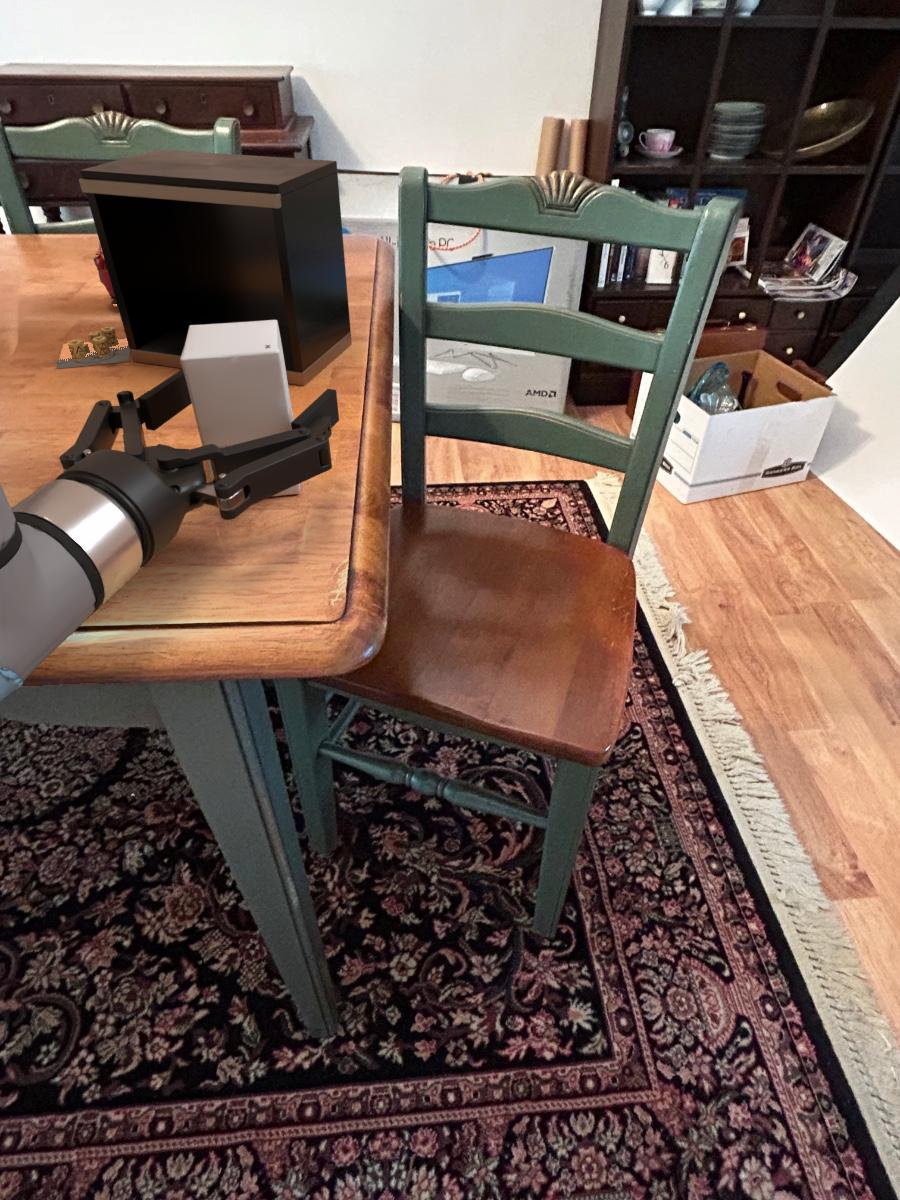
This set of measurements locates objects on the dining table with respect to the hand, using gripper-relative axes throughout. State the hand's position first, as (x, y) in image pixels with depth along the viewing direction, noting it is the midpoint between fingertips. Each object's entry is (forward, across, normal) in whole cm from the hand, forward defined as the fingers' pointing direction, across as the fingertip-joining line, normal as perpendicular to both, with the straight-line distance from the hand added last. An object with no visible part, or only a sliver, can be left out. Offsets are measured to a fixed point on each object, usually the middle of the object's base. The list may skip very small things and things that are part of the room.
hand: (261, 393), depth 63 cm
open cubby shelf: (+22, -16, -7) cm, 28 cm away
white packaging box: (-2, 0, -7) cm, 8 cm away
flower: (+33, -38, -7) cm, 51 cm away
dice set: (+17, -33, -7) cm, 38 cm away
